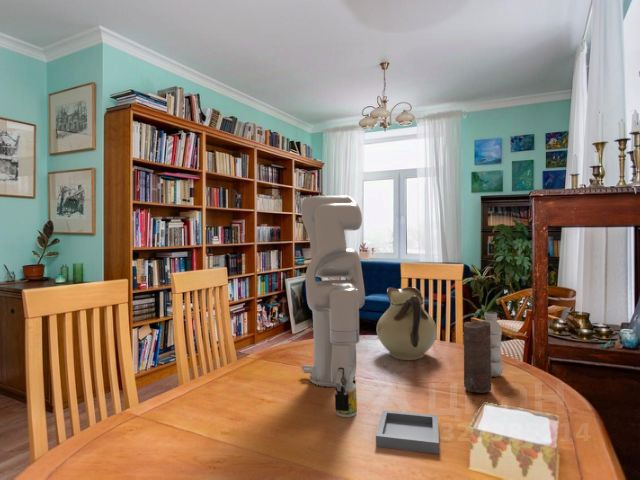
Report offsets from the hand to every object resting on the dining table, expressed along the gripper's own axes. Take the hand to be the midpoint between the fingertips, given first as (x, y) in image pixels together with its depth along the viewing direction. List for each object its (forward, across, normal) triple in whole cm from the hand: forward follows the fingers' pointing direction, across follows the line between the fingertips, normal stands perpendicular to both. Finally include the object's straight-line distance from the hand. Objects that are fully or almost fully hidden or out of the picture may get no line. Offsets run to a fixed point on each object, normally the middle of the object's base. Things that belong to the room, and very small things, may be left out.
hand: (346, 402), depth 101 cm
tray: (+3, +8, +16) cm, 18 cm away
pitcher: (+3, -53, +13) cm, 55 cm away
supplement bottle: (+3, 0, 0) cm, 3 cm away
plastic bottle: (+3, -37, +40) cm, 55 cm away
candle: (+3, -22, +34) cm, 41 cm away
